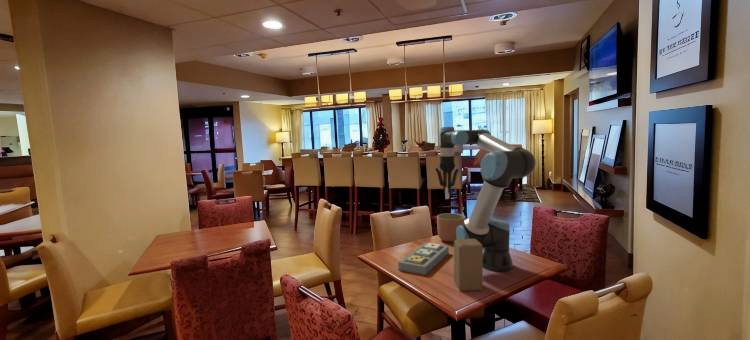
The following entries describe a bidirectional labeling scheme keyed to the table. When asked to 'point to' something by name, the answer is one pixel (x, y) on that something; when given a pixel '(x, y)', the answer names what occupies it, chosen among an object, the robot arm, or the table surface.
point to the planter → (449, 226)
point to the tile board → (428, 265)
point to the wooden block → (468, 264)
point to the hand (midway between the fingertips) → (447, 198)
